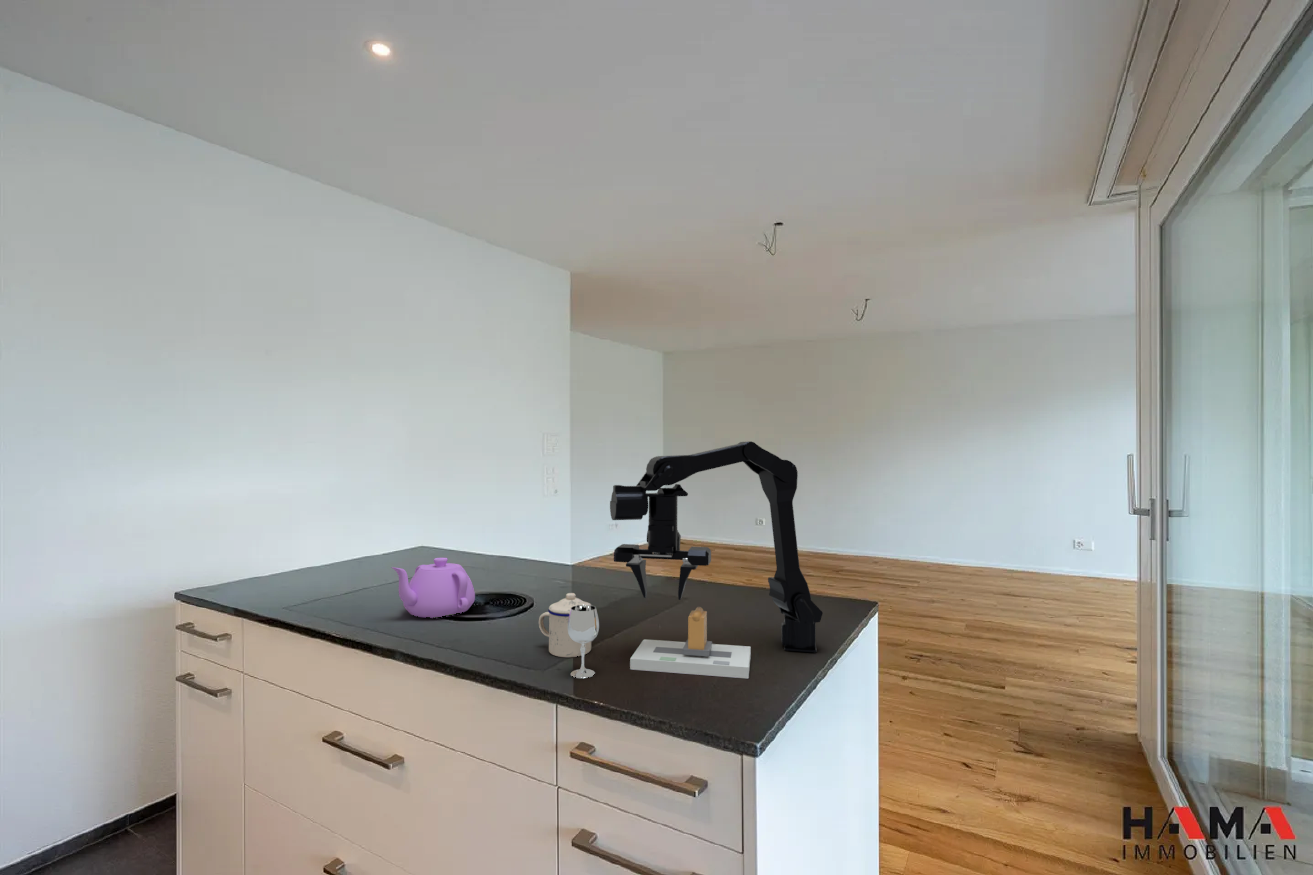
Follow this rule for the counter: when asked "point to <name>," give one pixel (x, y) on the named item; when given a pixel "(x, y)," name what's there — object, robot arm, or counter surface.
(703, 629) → the toggle
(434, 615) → the teapot
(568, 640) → the teacup with lid
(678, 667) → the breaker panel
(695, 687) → the counter surface
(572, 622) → the wineglass
